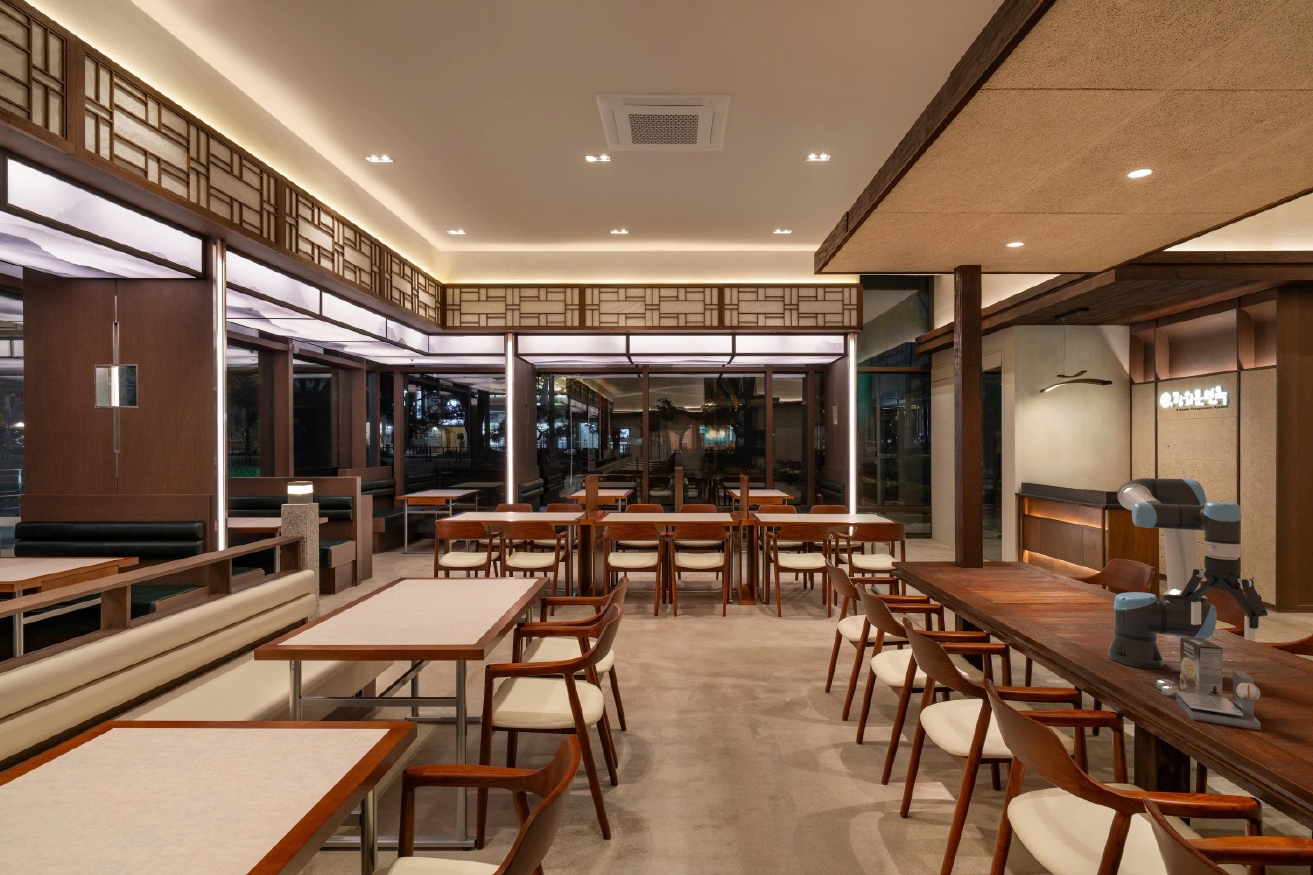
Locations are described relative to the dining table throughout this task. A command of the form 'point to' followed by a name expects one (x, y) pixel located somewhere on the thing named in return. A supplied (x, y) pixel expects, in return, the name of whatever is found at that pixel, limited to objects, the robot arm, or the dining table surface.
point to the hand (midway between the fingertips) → (1221, 631)
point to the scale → (1225, 704)
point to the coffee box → (1200, 667)
